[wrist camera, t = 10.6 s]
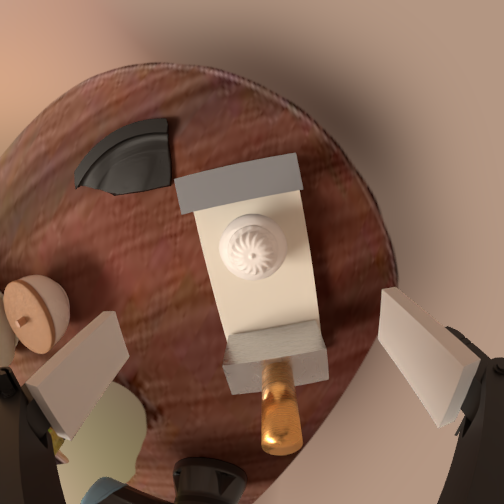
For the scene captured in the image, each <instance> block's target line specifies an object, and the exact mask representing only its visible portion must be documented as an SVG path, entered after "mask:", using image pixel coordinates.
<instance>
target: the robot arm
mask: <svg viewBox="0 0 504 504" xmlns="http://www.w3.org/2000/svg"><path fill="white" fill-rule="evenodd" d="M378 340H379V341H380V343H381V344H382V346H383V347H384V348H385V350H386V351H387V353H388V354H389V355H390V357H391V358H392V359H393V361H394V362H395V364H396V365H397V367H398V368H399V370H400V371H401V372H402V374H403V375H404V377H405V378H406V380H407V381H408V383H409V384H410V386H411V387H412V389H413V390H414V392H415V393H416V395H417V396H418V398H419V399H420V401H421V402H422V404H423V405H424V407H425V408H426V410H427V411H428V413H429V415H430V416H431V418H432V419H433V421H434V422H435V424H436V425H437V427H438V428H440V427H443V426H445V425H447V424H449V423H451V422H454V421H455V419H456V418H457V415H458V413H459V411H460V409H461V410H462V411H463V413H464V414H465V416H464V418H463V420H462V422H461V424H460V426H459V428H458V430H457V432H456V434H455V435H456V436H457V435H458V433H459V431H460V433H459V438H458V442H457V446H456V450H455V453H454V457H453V461H452V464H451V467H450V470H449V473H448V476H447V479H446V482H445V485H444V488H443V490H442V493H441V495H440V498H439V501H438V503H437V504H504V358H494V359H490V358H489V357H488V356H487V355H486V354H484V353H483V352H482V351H481V350H480V349H479V348H478V347H477V346H475V345H474V344H473V343H471V341H470V340H468V339H467V338H465V336H464V335H463V334H461V333H460V332H459V331H457V330H455V329H453V328H451V327H448V326H447V327H444V326H443V325H441V324H440V323H439V322H438V321H437V320H435V319H434V318H433V317H432V316H431V315H429V314H428V313H427V312H426V311H425V310H424V309H422V308H421V307H420V306H419V305H418V304H416V303H415V302H414V301H413V300H411V299H410V298H409V297H408V296H406V295H405V294H404V293H403V292H401V291H400V290H399V289H398V288H396V287H392V288H386V289H382V296H381V310H380V322H379V332H378ZM128 358H129V354H128V351H127V348H126V345H125V342H124V339H123V336H122V333H121V330H120V326H119V323H118V320H117V316H116V313H115V311H103V312H102V313H101V314H100V315H99V316H97V317H96V318H95V319H94V320H93V321H92V322H90V323H89V324H88V325H87V326H86V327H85V328H84V329H82V330H81V331H80V332H79V333H78V334H77V335H76V336H75V337H73V338H72V339H71V340H70V341H69V342H68V343H67V344H66V345H65V346H64V347H62V348H61V349H60V350H59V351H58V352H57V353H56V354H55V355H54V356H53V357H52V358H50V359H49V360H48V361H47V362H46V363H45V364H44V365H43V366H42V367H41V368H40V369H39V370H38V371H37V372H36V373H35V374H34V375H33V376H32V377H30V378H29V379H28V380H27V381H26V382H25V384H24V385H23V386H22V387H20V385H19V383H18V381H17V379H16V377H15V375H14V373H13V371H12V369H11V368H10V367H0V504H66V502H65V499H64V495H63V491H62V488H61V484H60V479H59V475H58V470H57V465H56V460H55V455H54V449H53V442H52V437H51V434H50V433H49V431H48V429H49V428H50V427H51V426H52V428H53V429H54V431H55V432H56V434H57V435H58V436H59V437H62V438H65V439H68V440H70V441H71V440H72V439H73V438H74V436H75V435H76V433H77V432H78V430H79V429H80V427H81V426H82V424H83V423H84V421H85V419H86V418H87V417H88V415H89V414H90V412H91V410H92V409H93V408H94V406H95V405H96V403H97V402H98V400H99V399H100V397H101V396H102V394H103V393H104V392H105V390H106V389H107V387H108V386H109V385H110V383H111V382H112V380H113V379H114V377H115V376H116V375H117V373H118V372H119V370H120V369H121V368H122V366H123V365H124V363H125V362H126V361H127V359H128ZM173 481H174V488H175V494H176V497H175V501H174V503H171V502H168V501H165V500H163V499H160V498H157V497H154V496H152V495H149V494H147V493H144V492H142V491H139V490H137V489H135V488H133V487H131V486H129V485H128V484H124V483H121V482H119V481H117V480H114V479H112V478H109V477H102V478H100V479H98V480H97V481H96V482H95V483H94V484H93V485H92V486H91V488H90V489H89V490H88V492H87V493H86V494H85V496H84V497H83V499H82V501H81V503H80V504H238V502H239V500H240V498H241V496H242V494H243V492H244V490H245V488H246V484H247V476H246V474H245V472H244V471H243V470H241V469H240V468H238V467H237V466H235V465H232V464H230V463H227V462H224V461H220V460H215V459H210V458H186V459H182V460H180V461H178V462H177V463H176V464H175V467H174V470H173Z"/></svg>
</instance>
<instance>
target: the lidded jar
mask: <svg viewBox="0 0 504 504" xmlns="http://www.w3.org/2000/svg"><path fill="white" fill-rule="evenodd" d="M3 300H4V309H5V313H6V316H7V319H8V322H9V324H10V326H11V328H12V330H13V331H14V333H15V335H16V336H17V337H18V339H19V340H20V341H21V342H22V343H23V344H24V345H25V346H26V347H27V348H28V349H30V350H31V351H33V352H35V353H39V354H45V353H47V352H48V351H50V350H51V349H52V347H53V346H54V345H55V344H56V343H57V342H58V341H59V340H60V339H61V338H62V336H63V335H64V333H65V332H66V330H67V327H68V324H69V319H70V303H69V299H68V296H67V294H66V292H65V290H64V289H63V288H62V287H61V285H59V284H58V283H57V282H55V281H53V280H52V279H50V278H48V277H46V276H43V275H29V276H26V277H23V278H20V279H18V280H14V281H12V282H10V283H9V284H8V285H7V286H6V288H5V291H4V299H3Z"/></svg>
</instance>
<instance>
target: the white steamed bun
mask: <svg viewBox="0 0 504 504" xmlns="http://www.w3.org/2000/svg"><path fill="white" fill-rule="evenodd" d="M219 253H220V256H221V259H222V261H223V263H224V265H225V266H226V267H227V269H228V270H229V271H230V272H231V273H233V274H234V275H236V276H237V277H240V278H242V279H245V280H252V281H254V280H261V279H264V278H267V277H269V276H271V275H272V274H274V273H275V272H276V271H277V270H278V269H279V268H280V267H281V265H282V264H283V262H284V260H285V258H286V254H287V241H286V237H285V235H284V233H283V231H282V229H281V228H280V227H279V225H278V224H277V223H276V222H275V221H273V220H272V219H271V218H269V217H267V216H264V215H261V214H245V215H242V216H239V217H237V218H236V219H234V220H233V221H231V222H230V223H229V224H228V225H227V227H226V228H225V230H224V231H223V233H222V235H221V238H220V241H219Z"/></svg>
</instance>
